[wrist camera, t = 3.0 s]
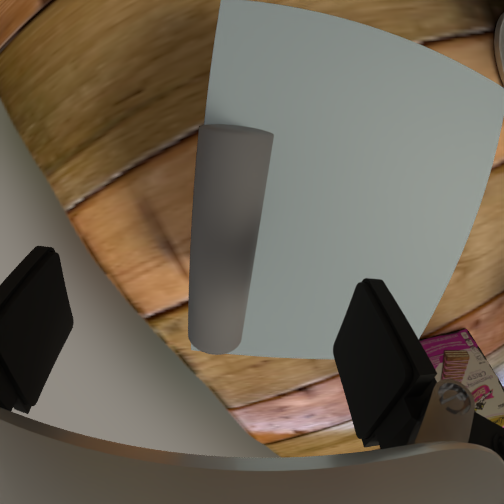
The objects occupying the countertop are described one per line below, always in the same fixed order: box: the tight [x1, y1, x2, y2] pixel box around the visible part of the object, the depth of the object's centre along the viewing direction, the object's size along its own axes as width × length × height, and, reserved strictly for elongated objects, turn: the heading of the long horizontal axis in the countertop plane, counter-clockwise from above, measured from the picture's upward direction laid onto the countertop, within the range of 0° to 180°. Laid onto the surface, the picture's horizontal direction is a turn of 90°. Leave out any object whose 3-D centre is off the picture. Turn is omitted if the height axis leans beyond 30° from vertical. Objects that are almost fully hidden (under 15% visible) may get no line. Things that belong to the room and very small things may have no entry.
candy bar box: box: [419, 329, 504, 428], centre depth 30 cm, size 11×5×16 cm, turn 96°
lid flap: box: [188, 0, 504, 359], centre depth 14 cm, size 20×16×6 cm
